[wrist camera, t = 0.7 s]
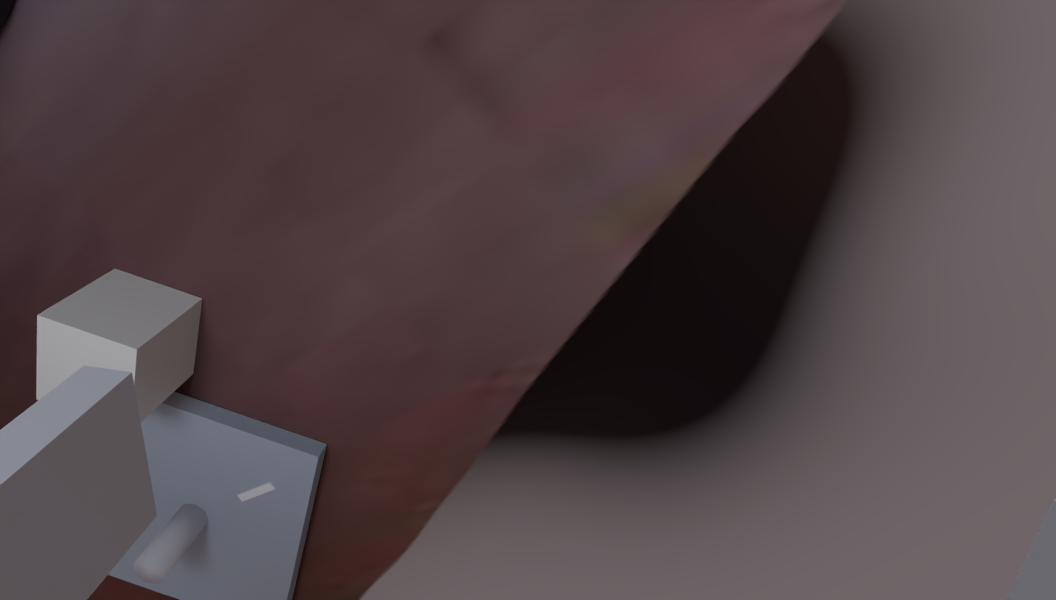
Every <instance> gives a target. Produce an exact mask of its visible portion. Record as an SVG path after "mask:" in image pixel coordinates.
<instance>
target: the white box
mask: <svg viewBox="0 0 1056 600" xmlns="http://www.w3.org/2000/svg"><path fill="white" fill-rule="evenodd" d="M201 307H202V298H199V297H197V296H194V295H191V294H188V293H185V292H182V291H179V290H176V289H173V288H170V287H167V286H165V285H162V284H159V283H156V282H153V281H150V280H147V279H144V278H141V277H138V276H135V275H132V274H130V273H127V272H124V271H121V270H118V269H113V270H112V271H110V272H108V273H107V274H105V275H103V276H102V277H100V278H98V279H97V280H95V281H93V282H92V283H90V284H88V285H87V286H85V287H83V288H82V289H80V290H78V291H77V292H75V293H73V294H72V295H70V296H68V297H67V298H65V299H63V300H62V301H60V302H58V303H57V304H55V305H53V306H52V307H50V308H48V309H46V310H45V311H43V312H41V313H40V314H38V315H37V387H36V399H37V400H40V399H41V398H42V397H44V396H45V395H46V394H48V393H49V392H50V391H51V390H53V389H54V388H55V387H57V386H58V385H59V384H61V383H62V382H63V381H64V380H66V379H67V378H68V377H70V376H71V375H72V374H73V373H75V372H76V371H77V370H79V369H80V368H81V367H83V366H91V367H98V368H105V369H112V370H120V371H127V372H132V376H133V381H134V387H135V393H136V398H137V404H138V410H139V415H140V421H141V422H142V421H143V420H144V419H145V418H146V417H147V416H148V415H149V414H150V413H151V412H153V411H154V410H155V409H156V408H157V407H158V406H159V405H160V404H161V403H162V402H163V401H164V400H166V399H167V398H168V397H169V396H170V395H171V394H172V393H173V392H174V391H175V390H176V389H177V388H179V387H180V386H181V385H182V384H183V383H184V382H185V381H186V380H187V379H188V378H189V377H190V376H192V375H193V373H194V365H195V357H196V348H197V340H198V332H199V323H200V315H201Z"/></svg>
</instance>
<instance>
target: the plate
mask: <svg viewBox="0 0 1056 600" xmlns="http://www.w3.org/2000/svg"><path fill="white" fill-rule="evenodd" d="M141 427H142V432H143V438H144V444H145V450H146V455H147V461H148V467H149V472H150V478H151V484H152V489H153V495H154V501H155V506H156V512H157V516H156V518H155V519H154V520H153V521H152V522H151V524H150V525H149V526H148V527H147V528H146V530H145V531H144V532H143V533H142V534H141V536H140V537H139V538H138V539H137V540H136V542H135V543H134V544H133V545H132V546H131V548H130V549H129V550H128V551H127V552H126V554H125V555H124V556H123V557H122V558H121V560H120V561H119V562H118V563H117V564H116V566H115V567H114V568H113V569H112V570H111V572H110V573H109V574H108V575H110V576H113V577H116V578H119V579H122V580H125V581H128V582H130V583H133V584H136V585H139V586H142V587H145V588H148V589H151V590H153V591H156V592H159V593H162V594H165V595H168V596H171V597H174V598H176V599H179V600H292V598H293V594H294V589H295V585H296V580H297V576H298V571H299V567H300V562H301V558H302V554H303V549H304V545H305V540H306V536H307V531H308V527H309V522H310V518H311V513H312V509H313V505H314V500H315V496H316V491H317V487H318V482H319V478H320V473H321V469H322V464H323V460H324V456H325V451H326V447H327V444H325V443H322V442H319V441H316V440H313V439H310V438H307V437H305V436H302V435H299V434H296V433H293V432H290V431H287V430H284V429H281V428H278V427H276V426H273V425H270V424H267V423H264V422H261V421H258V420H255V419H252V418H249V417H247V416H244V415H241V414H238V413H235V412H232V411H229V410H226V409H223V408H220V407H218V406H215V405H212V404H209V403H206V402H203V401H200V400H197V399H194V398H191V397H189V396H186V395H183V394H180V393H177V392H173V393H172V394H171V395H170V396H169V397H168V398H167V399H166V400H164V401H163V402H162V403H161V404H160V405H159V406H158V407H157V408H156V409H155V410H154V411H153V412H151V413H150V414H149V415H148V416H147V417H146V418H145V419H144V420H143V421H142V422H141Z"/></svg>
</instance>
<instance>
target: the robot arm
mask: <svg viewBox="0 0 1056 600" xmlns="http://www.w3.org/2000/svg"><path fill="white" fill-rule="evenodd" d="M12 4H13V0H0V28H1V27H2V25H3V24H4V22H5V20H6V18H7V16H8V14H9V12H10V9H11V7H12ZM156 516H157V512H156V506H155V501H154V495H153V489H152V484H151V478H150V472H149V467H148V461H147V455H146V450H145V444H144V438H143V432H142V427H141V421H140V415H139V410H138V404H137V398H136V393H135V387H134V381H133V376H132V372H127V371H120V370H112V369H105V368H98V367H91V366H83V367H81V368H80V369H79V370H77V371H76V372H75V373H73V374H72V375H71V376H70V377H68V378H67V379H66V380H64V381H63V382H62V383H61V384H59V385H58V386H57V387H55V388H54V389H53V390H51V391H50V392H49V393H48V394H46V395H45V396H44V397H42V398H41V399H40V400H39V401H37V402H36V403H35V404H33V405H32V406H31V407H29V408H28V409H27V410H26V411H24V412H23V413H22V414H20V415H19V416H18V417H17V418H15V419H14V420H13V421H11V422H10V423H9V424H7V425H6V426H5V427H4V428H2V429H1V430H0V600H87V599H88V598H89V597H90V595H91V594H92V593H93V592H94V591H95V590H96V588H97V587H98V586H99V585H100V584H101V582H102V581H103V580H104V579H105V578H106V576H107V575H108V574H109V573H110V572H111V570H112V569H113V568H114V567H115V566H116V564H117V563H118V562H119V561H120V560H121V558H122V557H123V556H124V555H125V554H126V552H127V551H128V550H129V549H130V548H131V546H132V545H133V544H134V543H135V542H136V540H137V539H138V538H139V537H140V536H141V534H142V533H143V532H144V531H145V530H146V528H147V527H148V526H149V525H150V524H151V522H152V521H153V520H154V519H155V518H156ZM1007 600H1056V499H1053V502H1052V504H1051V506H1050V508H1049V510H1048V512H1047V514H1046V517H1045V519H1044V521H1043V523H1042V526H1041V527H1040V530H1039V532H1038V534H1037V536H1036V538H1035V540H1034V542H1033V545H1032V547H1031V549H1030V551H1029V553H1028V555H1027V558H1026V560H1025V562H1024V564H1023V566H1022V568H1021V570H1020V573H1019V575H1018V577H1017V579H1016V581H1015V583H1014V585H1013V587H1012V590H1011V592H1010V594H1009V596H1008V598H1007Z"/></svg>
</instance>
